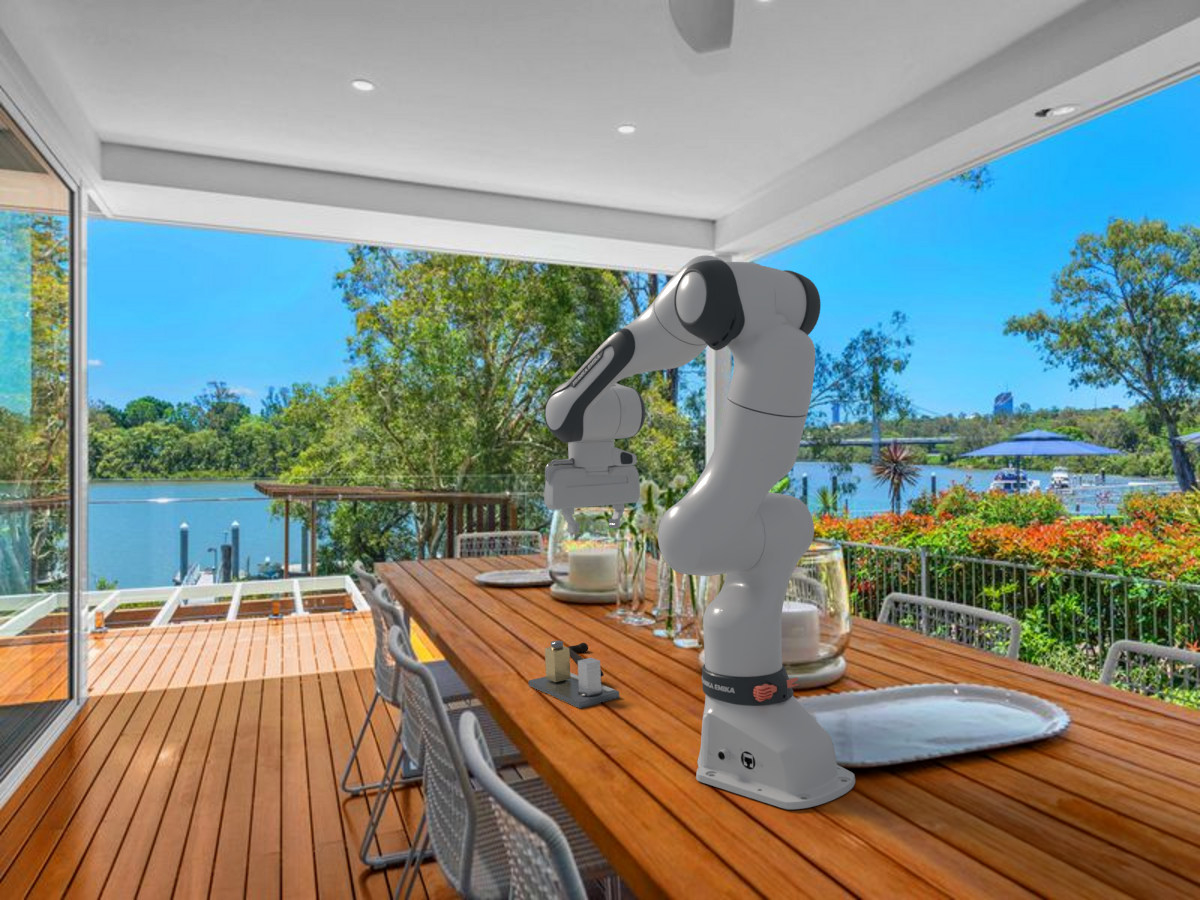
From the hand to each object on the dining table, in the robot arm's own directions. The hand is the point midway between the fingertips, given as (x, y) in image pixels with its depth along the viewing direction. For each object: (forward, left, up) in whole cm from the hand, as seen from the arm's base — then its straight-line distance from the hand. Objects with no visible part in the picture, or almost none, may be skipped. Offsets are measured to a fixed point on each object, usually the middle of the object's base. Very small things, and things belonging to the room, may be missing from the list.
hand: (594, 530), depth 151 cm
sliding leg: (+9, +4, -29) cm, 31 cm away
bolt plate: (+4, +4, -31) cm, 31 cm away
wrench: (+15, -8, -32) cm, 36 cm away
